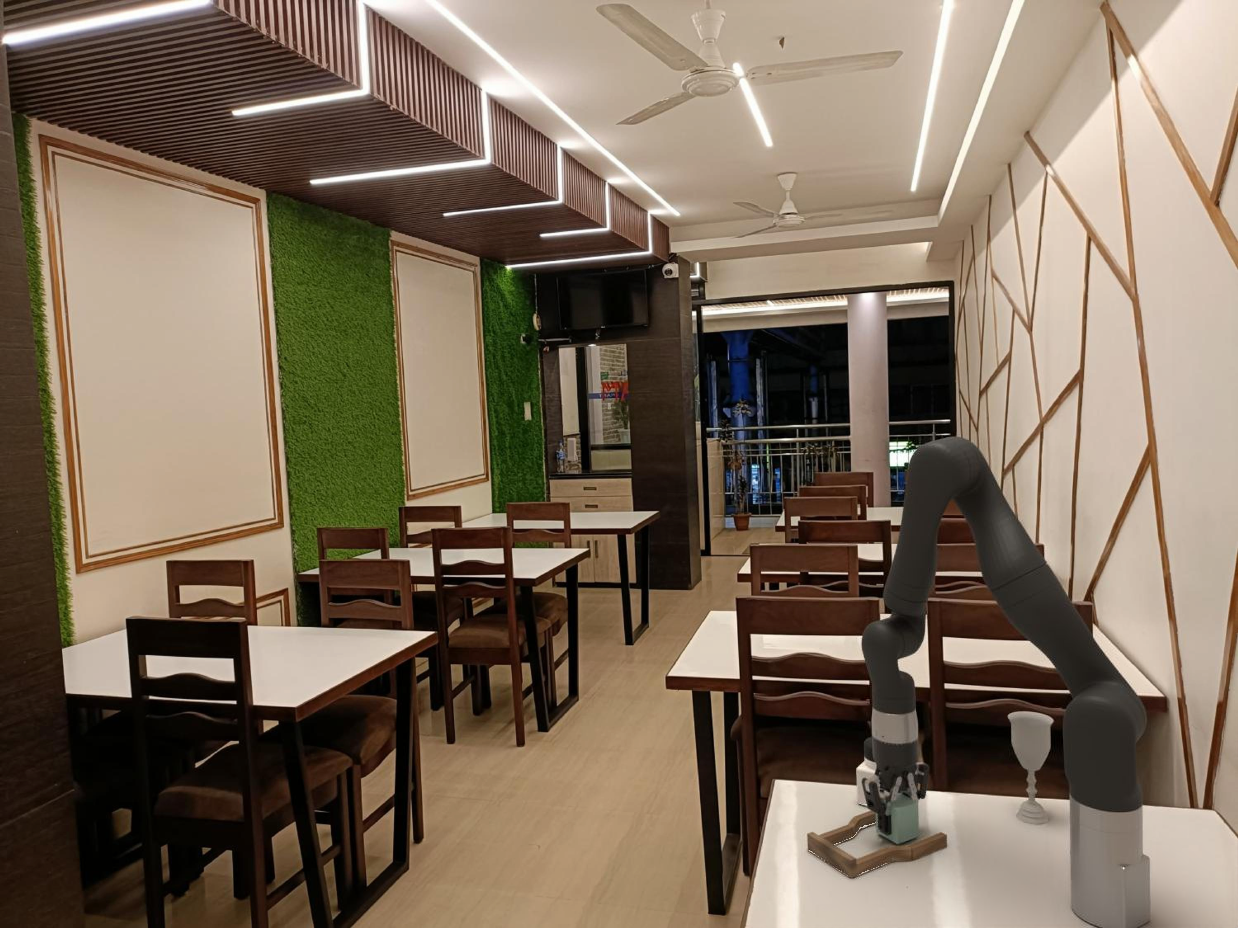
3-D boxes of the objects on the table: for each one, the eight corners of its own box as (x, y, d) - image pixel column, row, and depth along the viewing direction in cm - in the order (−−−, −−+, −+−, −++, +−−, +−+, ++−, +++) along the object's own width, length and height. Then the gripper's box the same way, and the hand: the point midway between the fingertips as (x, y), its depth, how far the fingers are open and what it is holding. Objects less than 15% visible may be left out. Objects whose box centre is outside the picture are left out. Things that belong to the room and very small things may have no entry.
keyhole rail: (947, 846, 148) (946, 829, 148) (858, 882, 139) (857, 864, 139) (887, 814, 160) (887, 798, 160) (801, 846, 151) (801, 829, 150)
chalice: (1008, 821, 155) (1006, 722, 154) (1010, 804, 161) (1009, 709, 160) (1054, 829, 152) (1053, 727, 150) (1055, 811, 158) (1054, 714, 156)
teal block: (919, 835, 151) (918, 801, 151) (897, 844, 149) (896, 809, 148) (897, 823, 155) (896, 791, 155) (876, 831, 153) (875, 798, 153)
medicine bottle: (894, 814, 160) (892, 750, 159) (856, 804, 165) (854, 742, 164) (908, 798, 166) (906, 736, 165) (871, 789, 170) (869, 729, 169)
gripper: (879, 750, 144) (882, 850, 145) (942, 730, 151) (944, 826, 152) (847, 735, 151) (850, 831, 152) (908, 717, 157) (911, 809, 159)
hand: (897, 828), depth 152 cm, fingers closed on teal block, 5 cm apart
